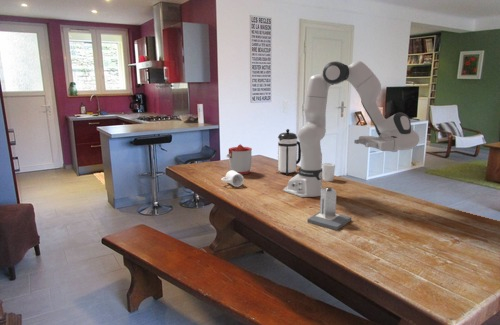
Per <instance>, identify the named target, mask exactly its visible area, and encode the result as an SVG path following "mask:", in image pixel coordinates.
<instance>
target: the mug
mask: <svg viewBox="0 0 500 325" xmlns="http://www.w3.org/2000/svg"><path fill="white" fill-rule="evenodd" d="M244 179H245V178H244V175H241V174H239V173H237V172H236V171H234V170H231V169H230V170H229V171H227V172H226V174H225V176H224V177H222V178H221V181H222V182H224V183H229V184H230V185H231V186H233V187H236V188H239V187H241V186H242V185H243V184H244V181H245V180H244Z"/></svg>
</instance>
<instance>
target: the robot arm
mask: <svg viewBox="0 0 500 325" xmlns="http://www.w3.org/2000/svg"><path fill="white" fill-rule="evenodd" d="M344 81H345V82H348V83H350V84H351V86H352V87H353V88H354V89H355V91H356V92H357V94H358V96H359V97H360V101H361V105H362V108H363V109H364V111H365V113H366V115H368V118H369V119H370V121H371V122H372V124H373V126H374V128H375V131H376V133H377V135H378V137H377V136H374V135H360V136H358V139H354V144H356V145H358V144H359V145H363V146H365V147H366V148H374V149H377V150H380V151H382V152H392V153H398V151H408V150H413V149H414V148H417V146H418V145H419V142H420V137H419V134H418V133H417V132H416V131H415V130H414V128H413V126H412V123H411V119H410V118H409V116H408V115H407V114H406V113H403V112H396V113H394V114H393V115H391V116H389V117H387V118H385V116H384V115H383V113H382V111H381V110H380V109H379V107H378V103H377V101H378V97H379V95H380V92H381V88H382V84H381V82H380V80H379V78H378V77H377V75H376V74H375V73H374V72H373V70H372V69H370V67H368V65H366V63H364V62H363V61H361V60H356V61H353V62H351V63H350V64H349V65H347V64H345V63H343V62H341V61H337V60H336V61H330V62H328V63H327V64H325V66H324V68H323V70H322V73H320V74H319V73H318V74H317V73H316V74H314V75H311V76H310V78H309V79H308V83H307V85H306V92H305V101H304V110H303V111H304V115H305V124H304V125H303V126H302V127H301V128H300V129H299V130H298V133H297V140H298V142H300V147H301V159H300V165H301V166H300V167H298V168H297V170H296V172H297V173H296V174H295V175H294V176H293V177H291V178H290V179H289V180H288V182H287V186H285V187H283V192H284V193H288V194H291V195H295V196H297V197H300V198H307V197H311V198H315V197H321V189H323V182H322V181H323V180H322V164H323V163H322V162H323V154H322V149H321V140H323V139H324V137H325V136H326V133H327V129H326V125H327V124H326V123H327V120H326V119H327V118H326V112H327V111H326V110H327V102H328V97H329V95H328V94H329V89H330V87H331V86H333V85H334V86H335V85H339V84H341V83H343V82H344Z"/></svg>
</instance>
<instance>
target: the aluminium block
mask: <svg viewBox="0 0 500 325" xmlns="http://www.w3.org/2000/svg"><path fill="white" fill-rule="evenodd" d="M322 188H323V187H322ZM319 205H320V207H319V212H320V214H321V215H322V216H323V217H324V218H330V217H335V213H337V212H336V210H337V190H336V189H334V188H332V187H329V186H328V187H326V188H323V189H321V196H320V204H319Z"/></svg>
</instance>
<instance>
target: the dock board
mask: <svg viewBox="0 0 500 325" xmlns="http://www.w3.org/2000/svg"><path fill="white" fill-rule="evenodd" d="M351 221H352V216H348V215H345V214H340V213H337V212H336V213H335V217H330V218H324V217H323V216H322V215H321V214H320V211H319V212H317V213H315V214H313V215H312V216H310V217H308V218H307V223H310V224H312V225H316V226H320V227H323V228H326V229H330V230H334V231H338V230H339V229H341V228H342V227H343V226H345V225H347V224H348V223H349V222H351Z"/></svg>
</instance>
